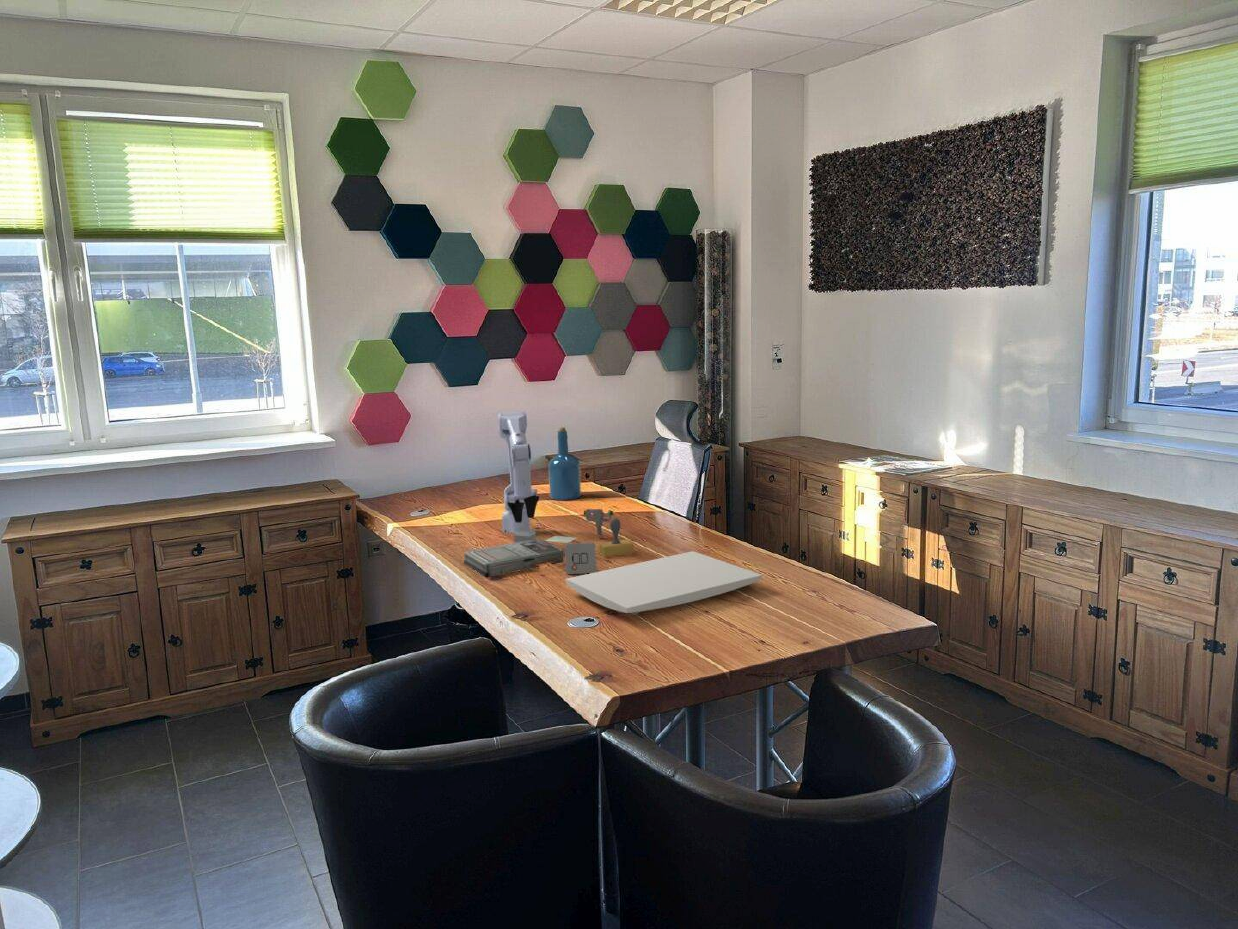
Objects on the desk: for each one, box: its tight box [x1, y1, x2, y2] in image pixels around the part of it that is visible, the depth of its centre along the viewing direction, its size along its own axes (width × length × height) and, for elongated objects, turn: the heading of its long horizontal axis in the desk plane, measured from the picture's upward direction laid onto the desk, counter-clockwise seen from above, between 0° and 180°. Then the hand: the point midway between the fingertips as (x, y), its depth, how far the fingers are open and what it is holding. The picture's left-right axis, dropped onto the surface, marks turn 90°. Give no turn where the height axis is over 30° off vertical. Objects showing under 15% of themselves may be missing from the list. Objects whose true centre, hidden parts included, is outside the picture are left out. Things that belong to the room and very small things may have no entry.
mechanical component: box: [583, 508, 614, 536], centre depth 322 cm, size 3×10×10 cm, turn 79°
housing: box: [513, 528, 537, 543], centre depth 311 cm, size 6×4×5 cm, turn 63°
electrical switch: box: [564, 542, 597, 575], centre depth 282 cm, size 9×5×9 cm, turn 90°
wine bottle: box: [548, 426, 582, 501], centre depth 389 cm, size 14×13×30 cm
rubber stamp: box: [598, 517, 634, 558], centre depth 301 cm, size 10×6×12 cm, turn 109°
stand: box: [544, 535, 578, 544], centre depth 317 cm, size 9×7×2 cm
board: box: [565, 550, 763, 616], centre depth 260 cm, size 45×32×5 cm
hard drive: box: [463, 538, 565, 578], centre depth 295 cm, size 18×27×4 cm
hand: (524, 519), depth 310 cm, fingers open, 7 cm apart
